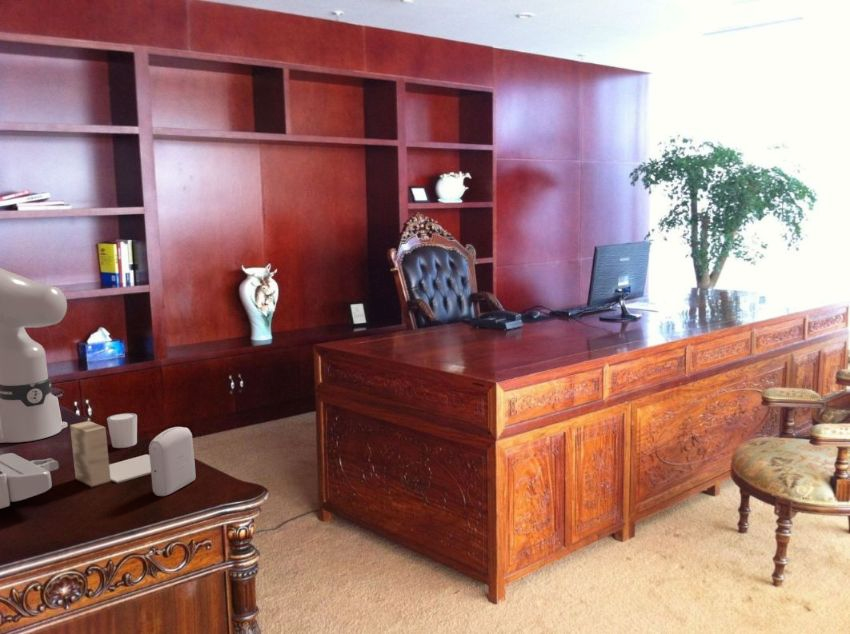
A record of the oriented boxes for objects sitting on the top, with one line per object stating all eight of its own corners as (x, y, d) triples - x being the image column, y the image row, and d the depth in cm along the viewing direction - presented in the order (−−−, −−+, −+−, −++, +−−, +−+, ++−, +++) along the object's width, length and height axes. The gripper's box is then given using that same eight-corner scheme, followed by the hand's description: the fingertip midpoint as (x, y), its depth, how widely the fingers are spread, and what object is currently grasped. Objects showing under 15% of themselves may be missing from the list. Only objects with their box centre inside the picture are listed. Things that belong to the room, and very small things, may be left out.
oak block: (75, 479, 173) (70, 425, 171) (93, 474, 176) (88, 420, 174) (92, 487, 168) (86, 431, 166) (110, 482, 171) (105, 427, 169)
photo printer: (167, 497, 161) (161, 437, 159) (149, 495, 162) (144, 436, 160) (199, 480, 170) (194, 423, 168) (182, 478, 172) (177, 421, 170)
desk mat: (92, 471, 178) (91, 469, 178) (147, 455, 187) (146, 454, 187) (117, 483, 170) (117, 481, 170) (173, 466, 179) (173, 465, 179)
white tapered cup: (115, 450, 192) (113, 422, 191) (105, 444, 197) (102, 416, 196) (144, 444, 196) (141, 416, 195) (133, 438, 201) (130, 411, 200)
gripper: (-34, 486, 163) (37, 467, 173) (4, 511, 149) (78, 488, 159) (-38, 456, 162) (33, 439, 172) (-1, 478, 148) (74, 457, 158)
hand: (55, 463), depth 165 cm, fingers closed
